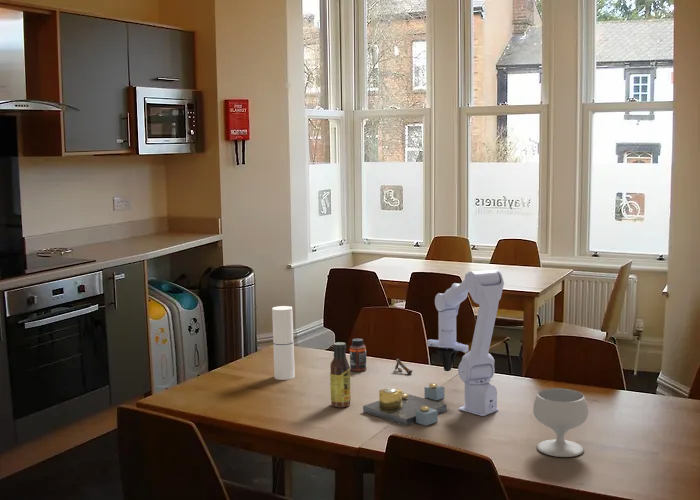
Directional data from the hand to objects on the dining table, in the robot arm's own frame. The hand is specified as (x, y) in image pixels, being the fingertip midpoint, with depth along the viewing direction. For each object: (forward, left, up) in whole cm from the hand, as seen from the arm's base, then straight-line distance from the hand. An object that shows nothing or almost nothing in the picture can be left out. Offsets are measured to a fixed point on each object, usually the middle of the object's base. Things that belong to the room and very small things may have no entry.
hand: (447, 370), depth 262 cm
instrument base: (-2, +23, -8) cm, 24 cm away
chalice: (-53, +18, -8) cm, 57 cm away
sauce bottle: (+17, +32, -8) cm, 37 cm away
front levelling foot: (0, +7, -7) cm, 10 cm away
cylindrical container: (+55, +24, -8) cm, 60 cm away
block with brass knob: (-13, +26, -8) cm, 30 cm away
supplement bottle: (+42, 0, -8) cm, 43 cm away
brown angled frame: (+27, -8, -8) cm, 30 cm away
